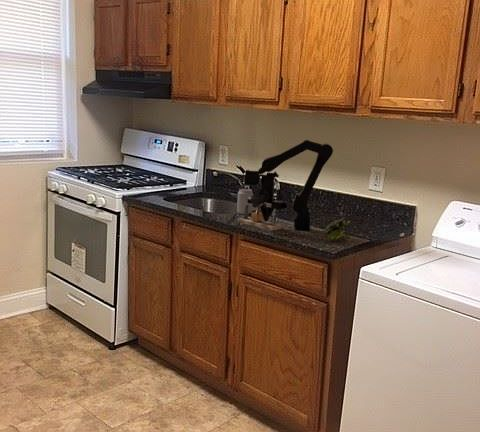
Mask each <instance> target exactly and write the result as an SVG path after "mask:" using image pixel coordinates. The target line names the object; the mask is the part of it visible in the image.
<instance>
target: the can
mask: <svg viewBox="0 0 480 432" xmlns="http://www.w3.org/2000/svg"><path fill="white" fill-rule="evenodd" d="M238 190H239V191H238V192H237V205H236V206H237V208H236V212H237V213H238V214H240V215H244V205H245V204H248V215H250V214H252V213H253V204H251V203H248V198H249V197H250V196H253V195H254V193H253V190H252V189H250V188H239V189H238Z"/></svg>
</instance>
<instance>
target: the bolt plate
mask: <svg viewBox="0 0 480 432" xmlns="http://www.w3.org/2000/svg"><path fill="white" fill-rule="evenodd" d="M251 218H252V217H250V216H249V214H248V204H245V205H244V214H243V217H240V218H237V219H236V222H237V223H240V224H244V225H248V226H250V227H251V226H252V227H255V228H259V229H263V230H268V231H271V232H272V231H277V230H281V229H283V224H278V223H274V222H270V221H267V222H265V221H264V220H263V221H258V222H256V221H252V220H251Z"/></svg>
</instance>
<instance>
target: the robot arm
mask: <svg viewBox="0 0 480 432" xmlns="http://www.w3.org/2000/svg"><path fill="white" fill-rule="evenodd" d="M306 151H310V152H313V153H316V158H315V162H314V165H313V167H312V168H311V171H310V173H309V175H308V177H307V179H306V181H305V184H304V186H303V188H302V189H301V192H296V193H295V196H294V198H293V199H292V209H293V211H294V212H295V213H296V216H295V217H294V222H293V223H294V224H293V227H294V230H295V231H305V232H310V230H311V218H312V216H311V209H310V207H308V203H309V199H310V195H311V193H312V190H313V189H314V186H315V184H316V182H317V180H318V178H319V176H320V174H321V171H322V169H323V168H324V166H325V164H327V162H328V161H329V160H330V158H331V157H332V155H333V152H334V149H333V147H332V145H331V144H329V143H327V142H326V143H323V144H321V143H317V142H314V141H310V140H309V139H305V140H303V141H302V142H301V143H298V144H296V145H294V146H292V147H291V148H289V149H287V150H285V151H283V152H281V153H279V154H276V155H273V156H272V155H271V156H268V157H266V158H264V159H263V161H262V163H261V167H260V168H258V170H249V169H246V170H245V171H244V172H245V174H244V178H243V185H244V186H249V187H250V186H251V187H258V185H259V184H260V188H259V189H258V192H257V193H255V194H253V196H250V197H249V198H248V203H251V204H252V205H254V206H255V205H256V207H259V208H260V212H261V213H262V215H263V221H265V222H269V221H268V220H269V219H270V217H271V215H272V213H273V212H274V210H281V209H287V208H288V207H287V206H288V204H287V202H286V201H284V200H276V197H274V195H275V192H277V189H276V188H275V178H279V177H280V175H279V174H278V173H277V171H274V170H275V169H277V167H279V166H281V165H282V164H283V163H284V162H286V161H288V160H290V159H292V158H294V157H296V156H297V155H300V154H301V153H303V152H306ZM273 171H274V172H273ZM265 173H266V174H265Z"/></svg>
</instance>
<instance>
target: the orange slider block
mask: <svg viewBox="0 0 480 432" xmlns="http://www.w3.org/2000/svg"><path fill="white" fill-rule="evenodd" d="M250 218H251V220H252V221H256V222H258V221H264V218H263V215H262V212H261V209H260V208H259V207H257V206H256V207H255V211H254V212H253V211H252V213H251V217H250Z"/></svg>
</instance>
